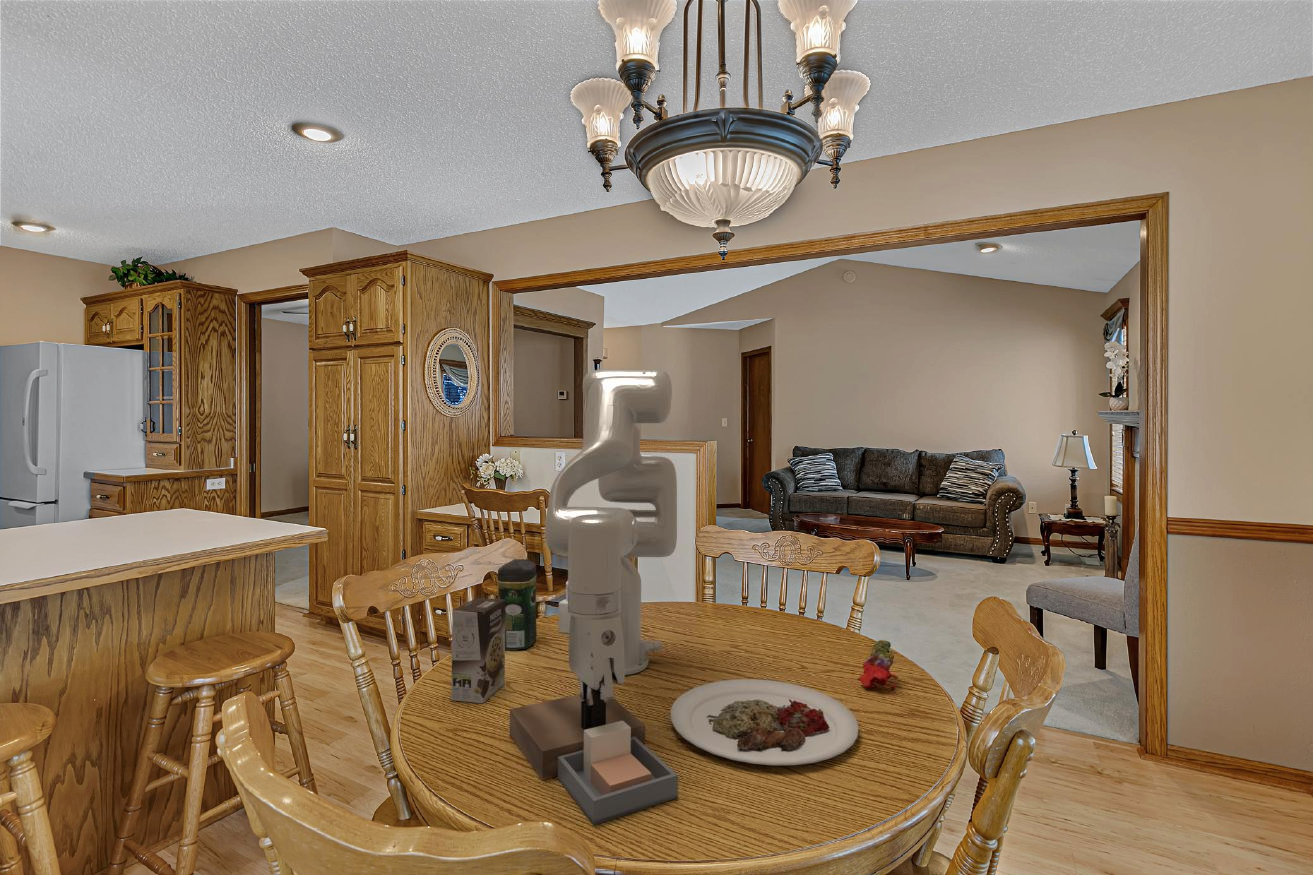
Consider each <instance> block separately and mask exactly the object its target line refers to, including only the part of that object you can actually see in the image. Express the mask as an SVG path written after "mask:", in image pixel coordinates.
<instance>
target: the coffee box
mask: <svg viewBox="0 0 1313 875" xmlns="http://www.w3.org/2000/svg"><path fill="white" fill-rule="evenodd" d="M451 615H452V621H451V624H452V625H451V626H452V627H451V689H450V690H451V692H450V693H451V696H450V699H451V701H456V702H457V701H458V702H465V703H475V704H484V703H485V702H486V701H487V700H489V698H491V697H492V696H493V695H494V694H495V693H496V692H497V691H499V690H500V689H501V688H502V687H504V685H505V684H506V649H505V600H504V599H498V598H479V597H477V598H475V597H474V598H473V599H472V600H470V601H467V602H466V603H464V604H461V605H460V606H459V607H455V608H454V609H452V614H451Z"/></svg>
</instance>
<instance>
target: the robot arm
mask: <svg viewBox="0 0 1313 875" xmlns="http://www.w3.org/2000/svg"><path fill="white" fill-rule="evenodd" d="M671 380H672V379H671V377H670V375H669V374H668V372H667V371H666V370H664V369H656V368H654V369H653V368H648V369H647V368H644V369H643V368H603V369H602V368H601V369H595V370H592V371H588V373H586V374H585V375H584V377H583V380H582V392H583V398H584V401H585V404H586V413H585V420H584V422H585V424H584V428H583V429H584V430H583V438H582V440H583V441H582V449H581V451H579V452H578V453H577V454H576V455H574V456H573V457H572V458H571V459H570V460H569V461H567V463H566V464H565V465H564V466H563V468H561V470H560V472H559V473H558V474H557V476H556V477H555V479H554V481H553V483H552V485H551V488H550V492H549V496H548V501H547V502H548V503H547V509H546V516H545V524H544V527H545V528H544V538H545V540H544V541H545V543H546V547H548V549H549V550H550V552H551V553H553V554H555V555H558V556H567V565H568V566H567V569H568V570H567V581H568V613H569V614H570V615H571V617H570V629H569V633H568V664H569V668H570V671H571V672H572V673H573V674H574V675H575V676H576V677H577V679H578V680H579V681H578V682H579V694H580V697H581V700H584V701H581V728H582V729H583V730H586V729H590V728H594V727H598V726H603V725H606V702H607V700H608V699H614V697H615V695H614V686H613V685H614V684H613V683H615V684H617V685H619V686H621V685H623V684H624V683H625V679H626V678H625V676H628V675H633V674H637V673H640V672H641V671H642V672H643V671H644V670H646V668H647V667H648V666H649V657H648V656H647V655H648V654H649V653H650V652H656V651H657V652H658V651H662V649H663V643H662V642H661V640H655V641H651V640H650V639H642V579H641V575H640V573H639V571H638V569H637V568H636V566H635V565H634V564H633V563H632V562H631V560H630V559H629V558H666V557H670V556H671V555H673V553H674V552H675V551H676V547H677V539H678V482H677V481H678V480H677V471H676V467H675V464H674V463H673V460H671V459H670V458H668V457H665V456H654V455H653V456H651V455H649V456H648V455H641V433H640V429H639V428H638V425H637V424H662V423H664V422H666V420H667V419H668V417H669V415H670V411H671V406H672V398H673V397H672V396H673V385H672V381H671ZM595 480H598V481H597V485H598V492H599V495H600V496H601V498H602V499H603V500H604V501H606V502H610V503H620V504H650V505H652V506H653V507H654V509H632V508H631V509H629V508H628V509H626V508H621V507H599V506H568V505H569V501H570V499H571V498H572V496H573V495H574V494H575V493H576V492H577V491H578V490H579V489H580V488H582V487H583V486H585V485H587V484H589V483H590V482H593V481H595Z"/></svg>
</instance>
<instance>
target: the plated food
mask: <svg viewBox="0 0 1313 875" xmlns="http://www.w3.org/2000/svg"><path fill="white" fill-rule="evenodd" d="M669 713H670V714H669V715H670V720H671V724H672V726H673V728H674V729H675V731H676V732H677V733H678V734H679V735H680V736H681V737H682V738H683V739H684V740H686V741H687V742H689V743H691V744H692V745H694V746H695V747H697V748H699V749H701V750H703V751H706V752H708V753H710V754H712V755H716V756H719V757H721V758H726V759H728V760H732V761H737V762H743V763H747V764H754V765H764V766H765V765H766V766H799V765H808V764H814V763H818V762H823V761H825V760H829V759H832V758H835V757H836V756H838V755H842V753H845V752H846V751H847V750H848V749H849V748H851V747H852V746H853V745H854V743H855V742H856V741H857V738H858V736H859V724H858V721H857V718H856V716H854V714H853V713H852V712H851V710H850V709H849V708H847V707H846V706H845V705H844V704H843V703H841V702H840V701H838V700H836V699H835V698H833V697H832V696H829V695H827V694H824V693H823V692H820V691H818V690H816V689H812V688H808V687H806V686H802V685H800V684H794V683H789V682H784V681H777V680H772V679H771V680H770V679H756V678H751V679H750V678H748V679H746V678H741V679H740V678H739V679H728V680H727V679H726V680H725V679H724V680H719V681H714V682H709V683H705V684H703V685H699V686H696V687H693V688H690V690H687V691H685V692H684V693H682V694H681V695H680V696H678V697H677V699H675V701H674V702H673V704H672V705H671V709H670V712H669Z"/></svg>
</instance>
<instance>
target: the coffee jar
mask: <svg viewBox="0 0 1313 875" xmlns="http://www.w3.org/2000/svg"><path fill="white" fill-rule="evenodd" d="M497 590H498V591H497V593H498V594H497V595H498V597H497V599H504V600H505V650H506V651H518V650H521V649H522V650H523V649H524V650H525V649H528V648H530V647H531V646H532V645H533V644H534V643H535V641H536V639H537V634H538V633H537V632H538V630H537V566H536V563H534V561H532V560H531V559H525V558H524V559H523V558H522V559H520V558H519V559H518V558H514V559H512V560H510V561H509V562H506V563H504V564H503V565H501V566H500V567H499V568H498V569H497Z"/></svg>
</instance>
